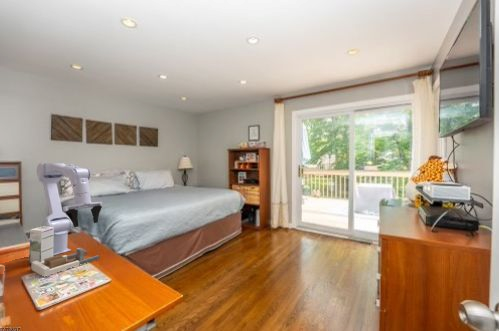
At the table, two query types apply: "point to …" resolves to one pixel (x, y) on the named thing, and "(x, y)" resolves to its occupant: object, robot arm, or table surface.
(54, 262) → the lopsided dumbbell
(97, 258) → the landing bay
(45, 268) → the frame
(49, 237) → the syrup box
